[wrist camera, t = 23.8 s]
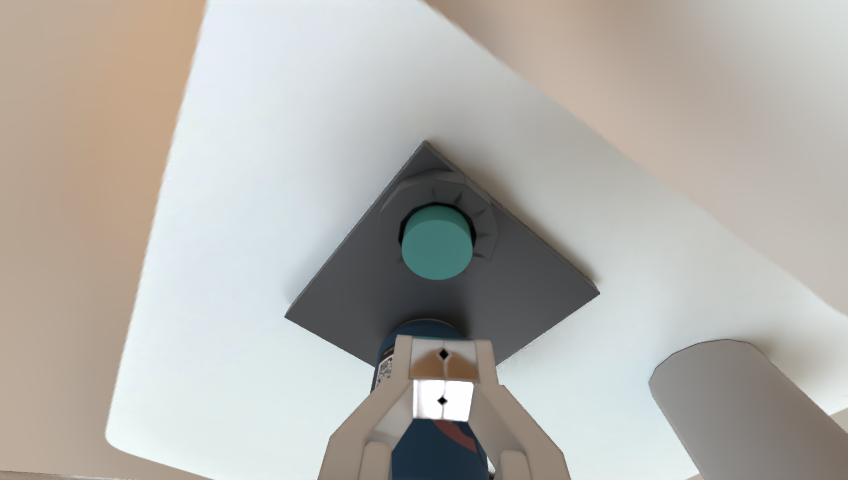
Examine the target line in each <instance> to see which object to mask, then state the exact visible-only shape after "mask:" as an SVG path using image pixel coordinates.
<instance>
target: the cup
mask: <svg viewBox="0 0 848 480" xmlns="http://www.w3.org/2000/svg"><path fill="white" fill-rule="evenodd" d="M649 386H650V390H651V393H652V396H653V398H654V400H655V401H656V403H657V404H658V406H659V408H660V409H661V411H662V412H663V414H664V416H665V417H666V419H667V420H668V422H669V424H670V425H671V427H672V429H673V430H674V432H675V433H676V435H677V437H678V438H679V440H680V441H681V443H682V445H683V446H684V448H685V450H686V451H687V453H688V454H689V456H690V458H691V459H692V461H693V462H694V464H695V466H696V467H697V469H698V470H699V472H700V474H701V475H702V477H703V479H704V480H848V433H846V431H844V430H843V429H842V428H841V427H840V426H839V425H838V424H837V423H836V422H835V421H834V420H832V418H830V417H829V416H828V415H827V414H826V413H825V412H824V411H823V410H822V409H821V408H820V407H819V406H818V405H817V404H815V403H814V402H813V401H812V400H811V399H810V398H809V397H808V396H807V395H806V394H805V393H804V392H803V391H802V390H800V389H799V388H798V387H797V386H796V385H795V384H794V383H793V382H792V381H791V380H790V379H789V378H788V377H787V376H785V375H784V374H783V373H782V372H781V371H780V370H779V369H778V368H777V367H776V366H775V365H774V364H773V363H771V362H770V361H769V360H768V359H767V358H766V357H765V356H764V355H763V354H762V353H761V352H759V351H758V350H757V349H756V348H755V347H753V346H752V345H751V344H749V343H744V342H738V341H733V340H727V339H726V340H719V341H712V342H704V343H698V344H696V345H694V346H691V347H689V348H686V349H684V350H682V351H679V352H677V353H674V354H673V355H671V356H670V357H669V358H668V359H667V360H665V361H664V362H663V363H662V364H660V365H659V366H658V367H657V368H656V369H655V371H654V373H653V375H652V377H651V380H650V382H649Z"/></svg>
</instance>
